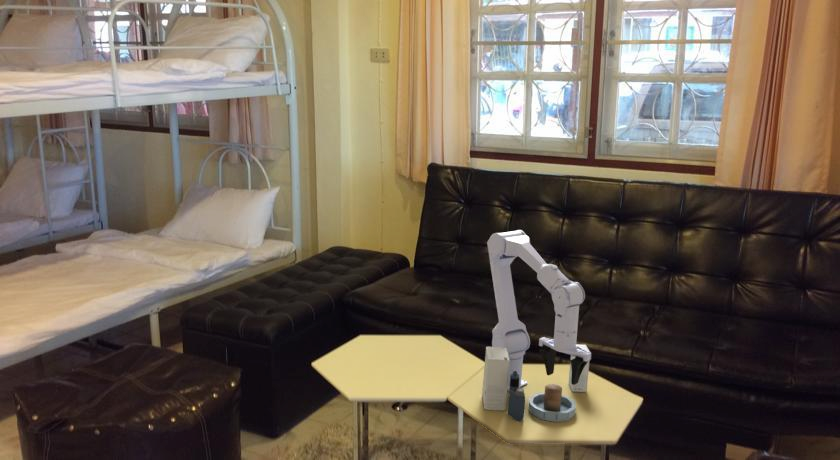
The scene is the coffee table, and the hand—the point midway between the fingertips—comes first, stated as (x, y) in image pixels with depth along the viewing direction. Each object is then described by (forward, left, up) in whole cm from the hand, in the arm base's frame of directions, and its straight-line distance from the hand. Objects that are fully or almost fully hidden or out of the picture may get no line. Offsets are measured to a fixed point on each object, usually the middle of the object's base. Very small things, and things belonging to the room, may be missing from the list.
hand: (562, 378), depth 185 cm
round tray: (-2, -1, -10) cm, 10 cm away
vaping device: (-6, -11, -10) cm, 16 cm away
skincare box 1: (-15, -9, -10) cm, 20 cm away
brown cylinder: (-2, -1, -9) cm, 9 cm away
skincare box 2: (-5, +17, -10) cm, 20 cm away
